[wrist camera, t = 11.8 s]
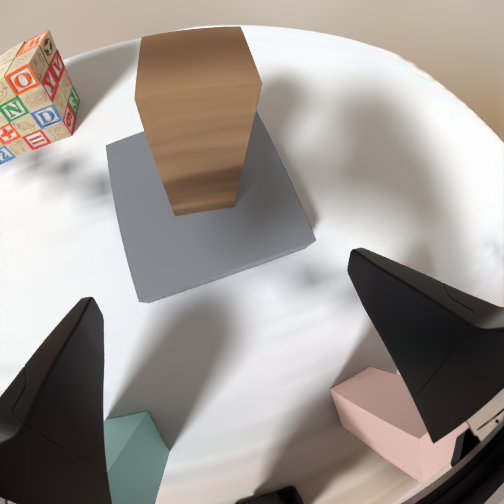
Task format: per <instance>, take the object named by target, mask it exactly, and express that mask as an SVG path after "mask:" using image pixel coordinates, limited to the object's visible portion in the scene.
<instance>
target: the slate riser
mask: <svg viewBox="0 0 504 504" xmlns="http://www.w3.org/2000/svg"><path fill="white" fill-rule="evenodd" d="M106 151H107V159H108V166H109V173H110V180H111V186H112V192H113V198H114V203H115V209H116V214H117V219H118V223H119V228H120V232H121V237H122V241H123V245H124V249H125V253H126V257H127V261H128V265H129V269H130V272H131V276H132V279H133V283H134V286H135V290H136V293H137V296H138V299H139V302H144V303H151V302H154V301H157V300H160V299H162V298H165V297H168V296H171V295H174V294H177V293H180V292H183V291H186V290H189V289H192V288H195V287H198V286H201V285H203V284H206V283H209V282H212V281H215V280H218V279H221V278H224V277H226V276H229V275H232V274H235V273H238V272H241V271H243V270H246V269H249V268H252V267H255V266H258V265H260V264H263V263H266V262H269V261H272V260H274V259H277V258H280V257H283V256H286V255H288V254H291V253H294V252H297V251H299V250H302V249H304V248H306V247H307V246H309V245H310V244H312V243H313V242H315V241H316V239H315V236H314V234H313V231H312V229H311V227H310V224H309V222H308V220H307V217H306V215H305V213H304V210H303V208H302V206H301V203H300V201H299V199H298V197H297V194H296V192H295V190H294V188H293V185H292V183H291V181H290V179H289V177H288V174H287V172H286V170H285V168H284V166H283V164H282V162H281V160H280V157H279V155H278V153H277V151H276V149H275V147H274V145H273V143H272V141H271V139H270V137H269V135H268V133H267V131H266V129H265V127H264V125H263V123H262V121H261V119H260V117H259V115H258V113H257V111H255V116H254V120H253V124H252V128H251V133H250V137H249V142H248V146H247V150H246V155H245V159H244V164H243V168H242V173H241V178H240V182H239V187H238V192H237V196H236V201H235V206H234V207H231V208H225V209H218V210H212V211H206V212H199V213H193V214H187V215H182V216H176V217H175V215H174V212H173V210H172V207H171V204H170V202H169V199H168V196H167V194H166V191H165V188H164V186H163V183H162V180H161V177H160V175H159V172H158V169H157V166H156V163H155V160H154V158H153V155H152V152H151V149H150V146H149V143H148V140H147V137H146V134H145V131H144V132H141V133H138V134H135V135H133V136H130V137H127V138H124V139H122V140H119V141H116V142H114V143H111V144H109V145H106Z"/></svg>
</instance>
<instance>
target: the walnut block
mask: <svg viewBox="0 0 504 504" xmlns="http://www.w3.org/2000/svg"><path fill="white" fill-rule="evenodd" d="M261 87H262V82H261V79H260V76H259V73H258V71H257V68H256V65H255V63H254V60H253V57H252V55H251V52H250V49H249V47H248V44H247V42H246V39H245V37H244V34H243V32H242V29H241V27H214V28H201V29H191V30H182V31H175V32H168V33H162V34H156V35H151V36H146V37H142V40H141V47H140V53H139V61H138V69H137V78H136V89H135V102H136V105H137V108H138V112H139V115H140V118H141V121H142V124H143V128H144V131H145V134H146V137H147V140H148V143H149V146H150V149H151V152H152V155H153V158H154V160H155V163H156V166H157V169H158V172H159V175H160V177H161V180H162V183H163V186H164V188H165V191H166V194H167V196H168V199H169V202H170V204H171V207H172V210H173V212H174V215H175V217H176V216H182V215H187V214H193V213H199V212H206V211H212V210H218V209H225V208H231V207H234V206H235V201H236V196H237V192H238V187H239V182H240V178H241V173H242V168H243V164H244V159H245V155H246V150H247V146H248V142H249V137H250V133H251V128H252V124H253V120H254V116H255V111H256V107H257V103H258V99H259V95H260V91H261Z"/></svg>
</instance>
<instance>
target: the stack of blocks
mask: <svg viewBox="0 0 504 504" xmlns="http://www.w3.org/2000/svg"><path fill="white" fill-rule="evenodd" d="M79 101H80V99H79V97H78V95H77V93H76V90H75V88H74V86H73V85H72V83H71V80H70V78H69V76H68V73H67V71H66V69H65V66H64V64H63V61H62V59H61V56H60V54H59V52H58V50H57V49H56V46H55V44H54V41H53V38H52V36H51V33H50V31H49V30H48V31H46V32H44V33H42V34H40V35H38V36H36V37H34V38H32V39H30V40H28V41H26V42H22V43H20V44H18V45H16V46H15V47H13V48H11V49H10V50H8V51H6V52H5V53H4V54H3V55H1V56H0V164H2V163H4V162H6V161H8V160H11V159H13V158H15V157H16V156H19V155H21V154H24V153H26V152H28V151H31V150H34V149H37V148H39V147H42V146H44V145H47V144H50V143H52V142H56V141H58V140H61V139H64V138H67V137H70V136H72V134H73V129H74V124H75V119H76V113H77V109H78V105H79Z"/></svg>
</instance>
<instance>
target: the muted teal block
mask: <svg viewBox="0 0 504 504" xmlns="http://www.w3.org/2000/svg"><path fill="white" fill-rule="evenodd" d="M104 441H105V454H106V465H107V472H108V480H109V487H110V493H111V499H112V504H155V501H156V498H157V494H158V490H159V487H160V483H161V480H162V476H163V473H164V469H165V466H166V462H167V459H168V456H169V452H170V451H169V449H168V448H167V446H166V444H165V442H164V441H163V439H162V437H161V435H160V433H159V431H158V430H157V428H156V426H155V424H154V422H153V420H152V418H151V416H150V414H149V412H148V411H144V412H139V413H135V414H130V415H125V416H120V417H115V418H109V419H106V420H105V421H104Z"/></svg>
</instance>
